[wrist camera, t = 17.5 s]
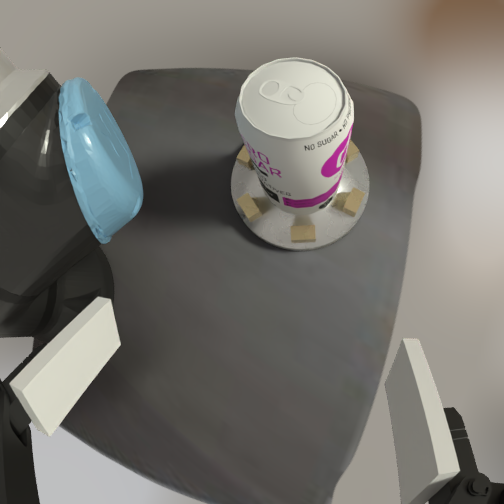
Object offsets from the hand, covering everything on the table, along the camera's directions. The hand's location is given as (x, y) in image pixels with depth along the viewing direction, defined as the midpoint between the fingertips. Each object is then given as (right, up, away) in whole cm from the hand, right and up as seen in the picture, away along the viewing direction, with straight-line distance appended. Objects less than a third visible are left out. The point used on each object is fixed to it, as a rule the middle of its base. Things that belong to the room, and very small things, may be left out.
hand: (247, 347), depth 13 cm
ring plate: (+6, +12, +21) cm, 25 cm away
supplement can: (+5, +12, +20) cm, 24 cm away
